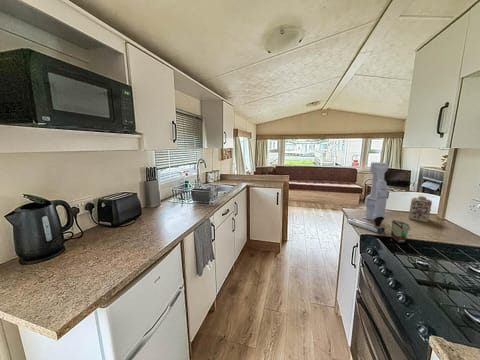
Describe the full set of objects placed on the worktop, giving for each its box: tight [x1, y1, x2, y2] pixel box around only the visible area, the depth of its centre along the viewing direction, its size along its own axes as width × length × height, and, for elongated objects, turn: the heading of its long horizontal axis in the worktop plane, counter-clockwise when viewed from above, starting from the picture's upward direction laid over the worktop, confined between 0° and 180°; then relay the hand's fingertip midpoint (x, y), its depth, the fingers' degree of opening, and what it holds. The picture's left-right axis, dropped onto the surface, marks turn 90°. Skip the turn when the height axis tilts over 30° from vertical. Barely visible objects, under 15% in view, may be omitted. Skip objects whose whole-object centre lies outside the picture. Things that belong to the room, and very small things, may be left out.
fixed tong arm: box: [346, 218, 383, 235], centre depth 139 cm, size 2×22×3 cm, turn 32°
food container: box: [390, 219, 411, 244], centre depth 122 cm, size 12×6×10 cm, turn 168°
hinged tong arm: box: [349, 217, 386, 233], centre depth 141 cm, size 22×2×3 cm, turn 38°
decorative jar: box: [408, 195, 433, 223], centre depth 159 cm, size 12×12×18 cm
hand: (377, 227), depth 137 cm, fingers closed
